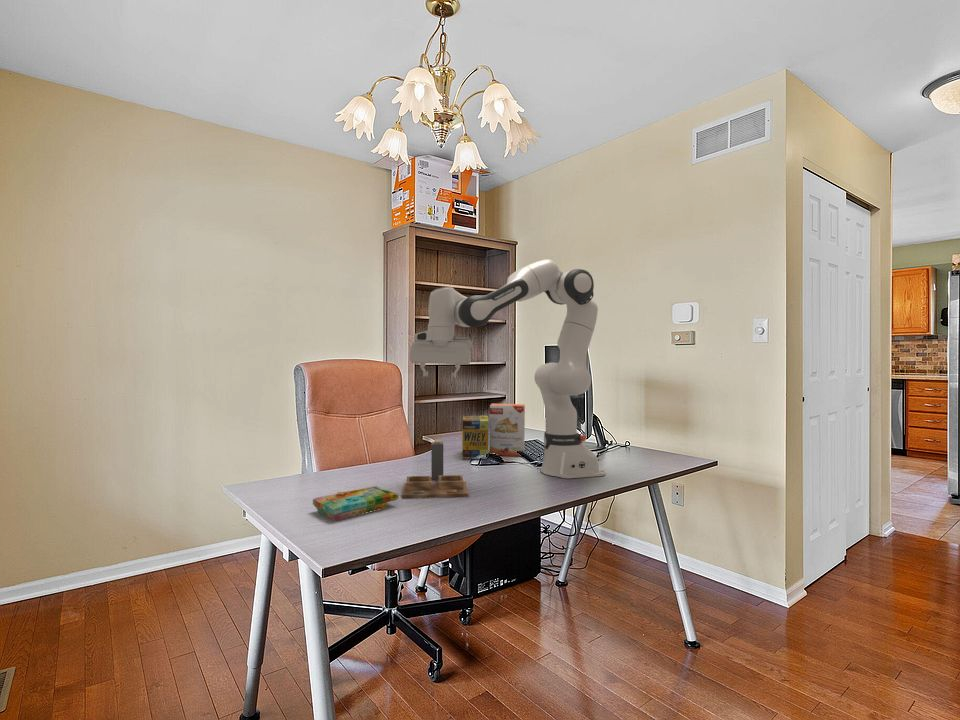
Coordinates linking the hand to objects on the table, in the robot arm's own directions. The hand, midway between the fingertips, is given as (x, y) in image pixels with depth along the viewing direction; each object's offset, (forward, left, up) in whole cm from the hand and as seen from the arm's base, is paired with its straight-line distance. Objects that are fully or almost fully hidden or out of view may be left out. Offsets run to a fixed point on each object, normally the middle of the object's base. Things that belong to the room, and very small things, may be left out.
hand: (439, 377), depth 178 cm
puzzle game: (+24, +28, -35) cm, 51 cm away
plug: (+1, -4, -35) cm, 35 cm away
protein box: (-15, -38, -35) cm, 54 cm away
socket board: (+2, +12, -35) cm, 37 cm away
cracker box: (-28, -38, -35) cm, 59 cm away
